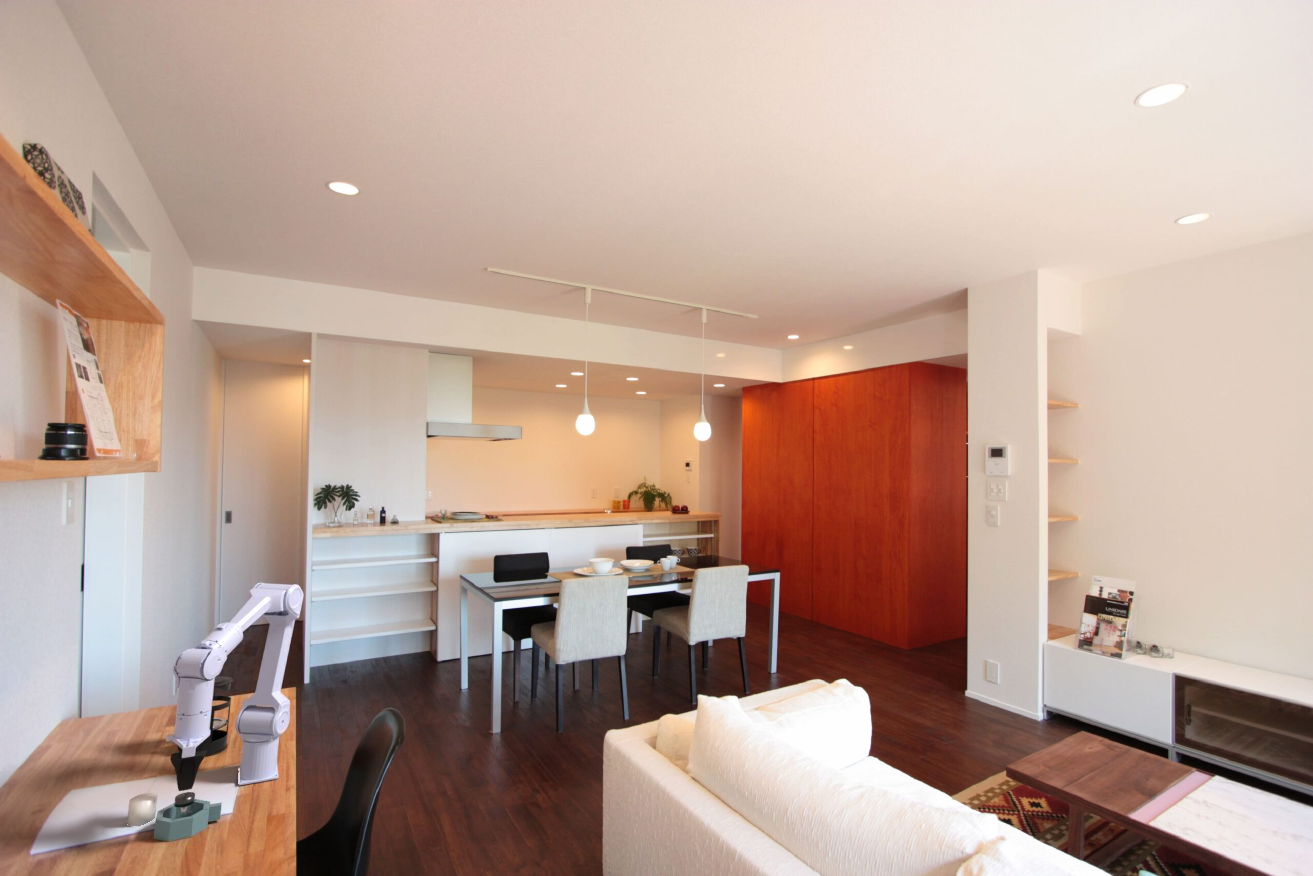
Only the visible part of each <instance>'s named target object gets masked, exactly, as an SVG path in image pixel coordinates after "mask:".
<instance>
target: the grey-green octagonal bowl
mask: <svg viewBox="0 0 1313 876" xmlns="http://www.w3.org/2000/svg"><path fill="white" fill-rule="evenodd" d="M174 803H175V802H173V803H171V804H169V805H167V806H165V807H164V808H163V807H162V808H160V809H159V810H157V811H156V812H157V813H156V815H155V820H154V821H155V822H154V831H153V839H154V840H159V841H163V842H173V841H178V840H184V839H188V838H192V837H193V836H195V835H197V834H200V833H201V832H203V831H204V830H206V829H208V823H209V822H214V821H218V820H219V821H220V820H221V816H222V815H221V813H222V804H223V802H217V803H211V801H209V800H203V799H199V798H198V799H197V798H195V800H194V803H193V804H191V805H189V806H187V810H186V817H184V818H180V814H181V807H175V806H174Z"/></svg>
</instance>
